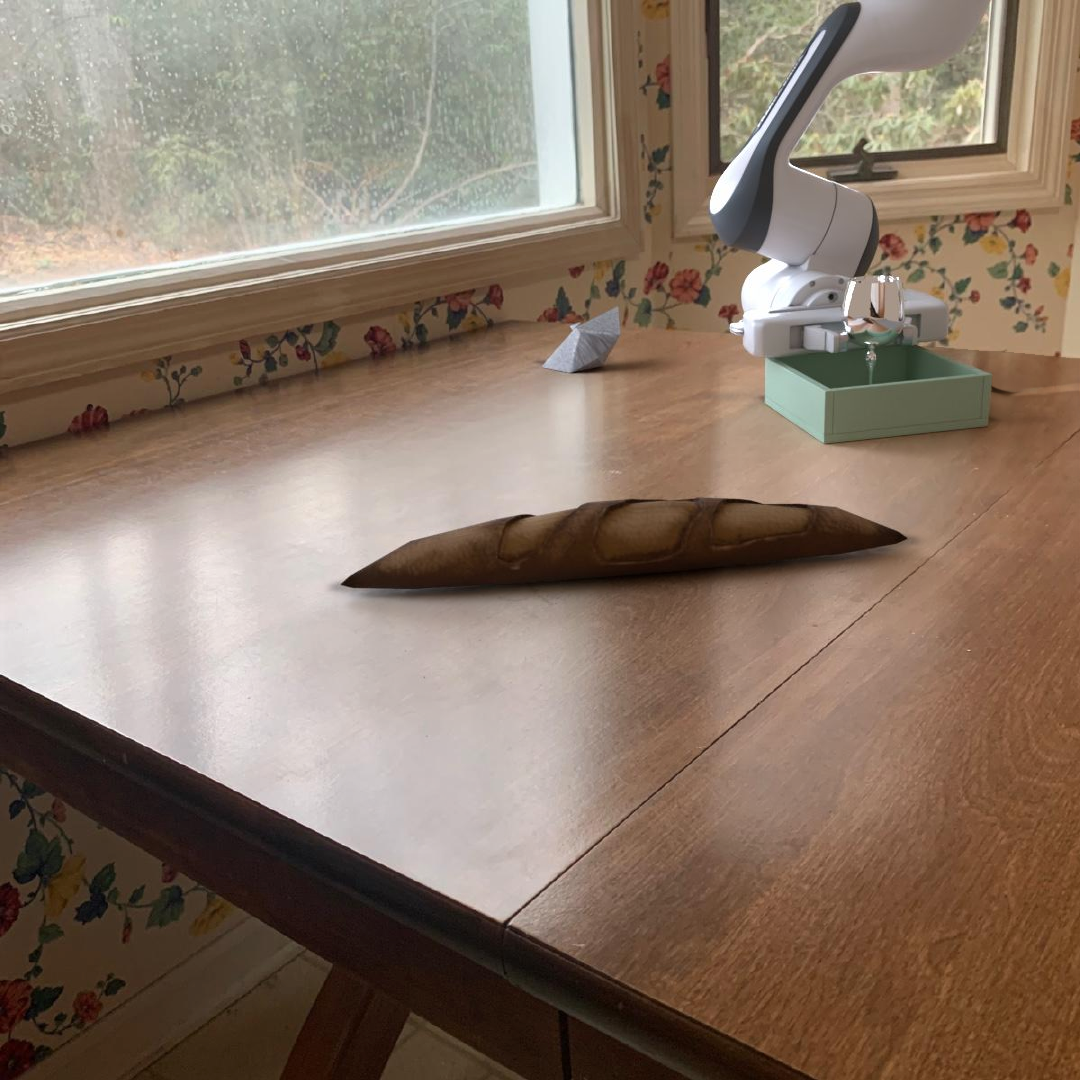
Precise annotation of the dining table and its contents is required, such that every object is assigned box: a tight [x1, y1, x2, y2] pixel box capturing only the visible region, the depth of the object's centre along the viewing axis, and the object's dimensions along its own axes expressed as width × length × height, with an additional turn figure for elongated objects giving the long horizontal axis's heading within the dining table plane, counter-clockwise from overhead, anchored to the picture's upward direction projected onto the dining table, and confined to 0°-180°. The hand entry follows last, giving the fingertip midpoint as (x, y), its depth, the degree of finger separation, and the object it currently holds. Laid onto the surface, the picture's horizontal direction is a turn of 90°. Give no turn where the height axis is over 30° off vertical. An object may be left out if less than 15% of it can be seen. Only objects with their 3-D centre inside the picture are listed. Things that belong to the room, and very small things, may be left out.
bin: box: [764, 344, 993, 445], centre depth 104 cm, size 16×16×5 cm
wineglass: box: [841, 275, 905, 385], centre depth 103 cm, size 6×6×12 cm
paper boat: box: [541, 306, 621, 374], centre depth 133 cm, size 12×6×9 cm
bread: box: [340, 496, 909, 590], centre depth 72 cm, size 38×5×5 cm, turn 93°
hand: (876, 340), depth 102 cm, fingers closed on wineglass, 5 cm apart
